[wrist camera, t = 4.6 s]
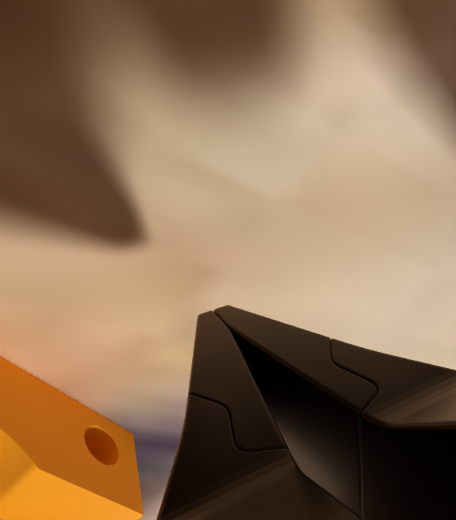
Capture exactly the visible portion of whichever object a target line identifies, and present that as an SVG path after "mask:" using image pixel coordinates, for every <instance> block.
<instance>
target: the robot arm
mask: <svg viewBox="0 0 456 520" xmlns="http://www.w3.org/2000/svg"><path fill="white" fill-rule="evenodd" d="M157 520H456V370H453V369H449V368H444V367H440V366H436V365H431V364H427V363H423V362H419V361H414V360H410V359H406V358H402V357H397V356H393V355H389V354H385V353H381V352H377V351H373V350H369V349H365V348H362V347H359V346H355V345H352V344H349V343H345V342H342V341H339V340H336V339H330V338H329V337H326V336H323V335H320V334H317V333H314V332H310V331H307V330H304V329H301V328H298V327H295V326H292V325H289V324H285V323H282V322H279V321H276V320H273V319H270V318H267V317H264V316H260V315H257V314H254V313H251V312H248V311H245V310H242V309H239V308H235V307H232V306H229V305H227V306H223V307H220V308H217V309H215V310H214V312H213V311H208V312H205V313H202V314H200V315H198V318H197V326H196V334H195V342H194V350H193V359H192V367H191V375H190V383H189V391H188V398H187V406H186V413H185V419H184V425H183V430H182V433H181V437H180V441H179V445H178V449H177V453H176V456H175V459H174V463H173V466H172V470H171V473H170V476H169V480H168V483H167V487H166V490H165V493H164V497H163V500H162V504H161V507H160V510H159V513H158V517H157Z"/></svg>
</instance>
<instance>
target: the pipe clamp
mask: <svg viewBox="0 0 456 520" xmlns="http://www.w3.org/2000/svg"><path fill="white" fill-rule="evenodd" d="M143 515H144V514H143V506H142V499H141V491H140V483H139V476H138V468H137V461H136V453H135V446H134V438H133V433H131V432H129V431H128V430H126V429H124V428H122V427H121V426H119V425H117V424H116V423H114V422H112V421H110V420H109V419H107V418H105V417H104V416H102V415H100V414H98V413H97V412H95V411H93V410H92V409H90V408H88V407H86V406H85V405H83V404H81V403H79V402H78V401H76V400H74V399H73V398H71V397H69V396H67V395H66V394H64V393H62V392H61V391H59V390H57V389H55V388H54V387H52V386H50V385H49V384H47V383H45V382H43V381H42V380H40V379H38V378H36V377H35V376H33V375H31V374H30V373H28V372H26V371H24V370H23V369H21V368H19V367H18V366H16V365H14V364H12V363H11V362H9V361H7V360H6V359H4V358H2V357H0V520H139V519H140V518H141V517H142V516H143Z"/></svg>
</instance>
